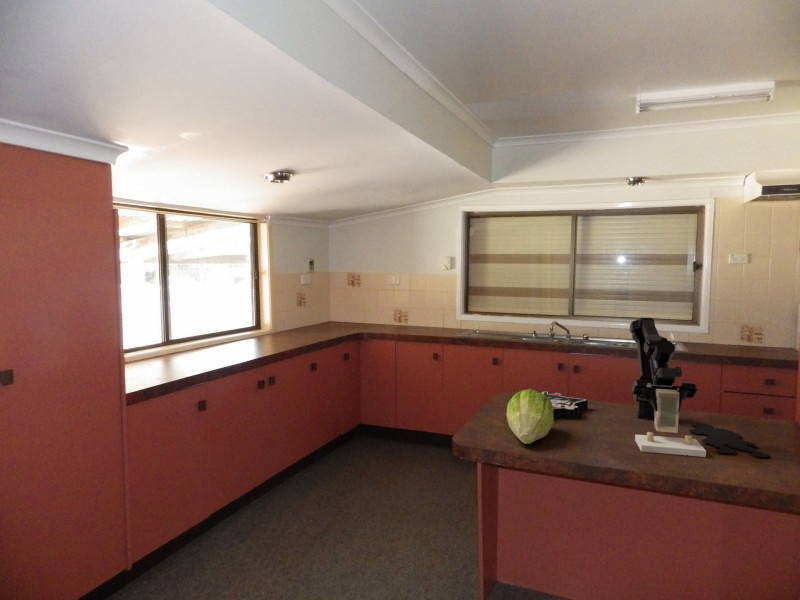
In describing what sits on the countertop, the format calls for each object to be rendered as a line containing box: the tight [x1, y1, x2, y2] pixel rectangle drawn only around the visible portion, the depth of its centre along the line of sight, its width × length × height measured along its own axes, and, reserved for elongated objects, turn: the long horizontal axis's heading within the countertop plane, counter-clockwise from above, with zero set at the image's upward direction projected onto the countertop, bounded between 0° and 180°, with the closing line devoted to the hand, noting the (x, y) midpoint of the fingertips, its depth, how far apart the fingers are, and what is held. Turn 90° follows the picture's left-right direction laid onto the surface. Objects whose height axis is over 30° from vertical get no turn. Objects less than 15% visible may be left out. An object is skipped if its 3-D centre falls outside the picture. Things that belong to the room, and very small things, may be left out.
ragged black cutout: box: [688, 422, 771, 460], centre depth 166 cm, size 16×1×30 cm
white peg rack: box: [634, 431, 707, 458], centre depth 158 cm, size 10×18×4 cm, turn 75°
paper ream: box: [653, 389, 680, 434], centre depth 162 cm, size 4×6×13 cm
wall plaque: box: [518, 390, 589, 420], centre depth 199 cm, size 28×4×30 cm
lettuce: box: [505, 388, 554, 445], centre depth 170 cm, size 15×24×16 cm
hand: (667, 411), depth 160 cm, fingers closed on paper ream, 6 cm apart
